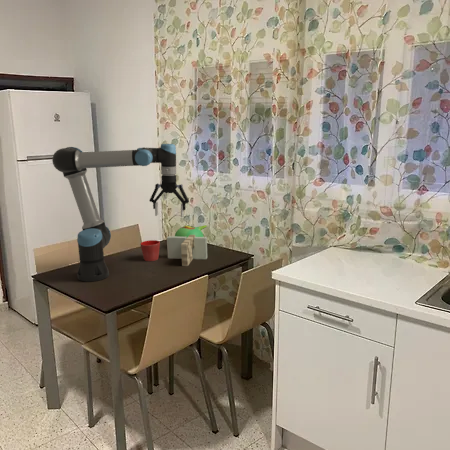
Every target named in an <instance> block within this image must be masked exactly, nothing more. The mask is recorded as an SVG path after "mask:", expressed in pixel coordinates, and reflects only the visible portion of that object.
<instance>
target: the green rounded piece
mask: <svg viewBox="0 0 450 450" xmlns="http://www.w3.org/2000/svg"><path fill="white" fill-rule="evenodd" d="M207 227H208V225H205V224H204V225H201V226H200V225H199V226H192V225H190V224H188V225H183V226H182V227H180V228H178V229H177V230H176V232H175V233H174V236H179V237H188V236H189V235H195V237H205V236H204V233H203V230H204V229H206V228H207Z"/></svg>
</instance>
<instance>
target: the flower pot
mask: <svg viewBox="0 0 450 450" xmlns="http://www.w3.org/2000/svg"><path fill="white" fill-rule="evenodd" d="M160 246H161V242H160V241H159V240H155V239H154V240H153V239H151V240H145V241H141V242H140V247H141V253H142V257H143V260H144V261H146V262H154V261H158V259H159V258H160V257H159V256H160Z"/></svg>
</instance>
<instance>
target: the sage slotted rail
mask: <svg viewBox="0 0 450 450" xmlns="http://www.w3.org/2000/svg"><path fill="white" fill-rule="evenodd" d="M186 238H187V237H179V236H175V235H174V236H173V235H172V236H170V235H168V236H167V237H166V245H167V246H166V247H167V259H177V260H178V259H180V260H182V253H181V244H182V243H183V242H184V241H185V239H186ZM192 258H193V260H207V259H208V238H207V236H204V237H195V238H194V247H193V248H192Z"/></svg>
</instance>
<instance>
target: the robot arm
mask: <svg viewBox="0 0 450 450" xmlns="http://www.w3.org/2000/svg"><path fill="white" fill-rule="evenodd" d="M176 148H177V147H176V144H175V143H161V144H160V147H138V148H137V149H127V150H125V149H124V150H121V149H120V150H103V151H85V152H83V150H81V149H80V148H78V147H75V146H67V147H64V148H58V149H57V150H56V151H54V154H52V159H51V160H52V165H53V167H54V168H55V170H57V171H58V172H61V173H62V175H63V177H64V178H65V179H67V180H68V182H69V185H70V188H71V191H72V194H73V196H74V200H75V203H76V205H77V208H78V211H79V214H80V218H81V220H82V223H83V225H82V227H81V229H82V230H81V231H79V232H78V233H77V247H78V257H79V266H78V270H77V279H78V280H79V281H81V282H96V281H97V282H98V281H102V280H105V279H107V278H108V277H109V276H110V273H109V272H110V271H109V268H108V266H107V264H106V262H105V257H104V256H105V254H104V249H105V247H107V246H108V244H109V243H110V242H111V241H110V240H111V238H112V233H111V230H110V228H109V227H107V225H106V223H105V221H104V220H103V219H101V217H100V214H99V211H98V209H97V205H96V202H95V200H94V197H93V194H92V190H91V188H90V184H89V183H88V179H87V175H86V173H87V172H88V169H94V168H95V169H97V168H98V169H99V168H115V167H119V168H120V167H134V166H136V167H137V166H138V167H139V166H140V167H147V166H149V165H150V164H157V163H158V164H160V171H161V177H160V178H161V181H160V182H161V183H156V184H155V185H154V190H153V192H152V194H151V196H150V198H149V202H150V203H152V207H153V210H154V216H155V217H157V216H158V215H159V202H158V200H159V199H160V198H161V197H162V195H164V193H165V194H174V195H175V196H176V198H177V199H178V200H179V201H180V202H181V204H180V217H181V218H182V217H184V211H185V210H186V204H188V203H189V202H190V200H189V198H188V195H187V194H186V192H185V190H184V186H183V184H182V183H181V184H177V175H176V174H177V149H176ZM160 188H161V189H162V190H160V192H159V193H158V195H157V192H158V190H159V189H160ZM178 190H179V192H180V193H181V194H180V193H179V192H178ZM156 195H157V196H156ZM181 195H182V196H181Z"/></svg>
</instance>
